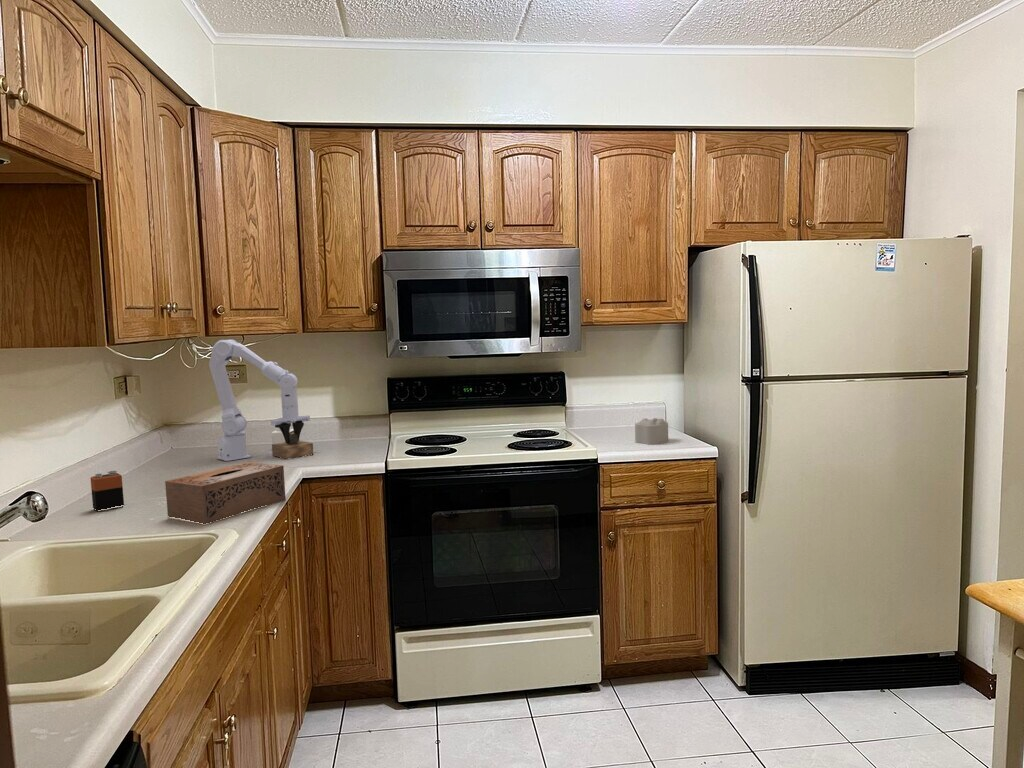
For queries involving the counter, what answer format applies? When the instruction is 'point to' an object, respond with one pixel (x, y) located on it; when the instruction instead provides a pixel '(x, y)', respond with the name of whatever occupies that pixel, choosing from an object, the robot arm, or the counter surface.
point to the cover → (292, 448)
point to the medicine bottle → (280, 434)
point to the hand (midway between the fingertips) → (292, 442)
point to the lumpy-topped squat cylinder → (651, 431)
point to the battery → (107, 490)
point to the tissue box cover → (225, 491)
